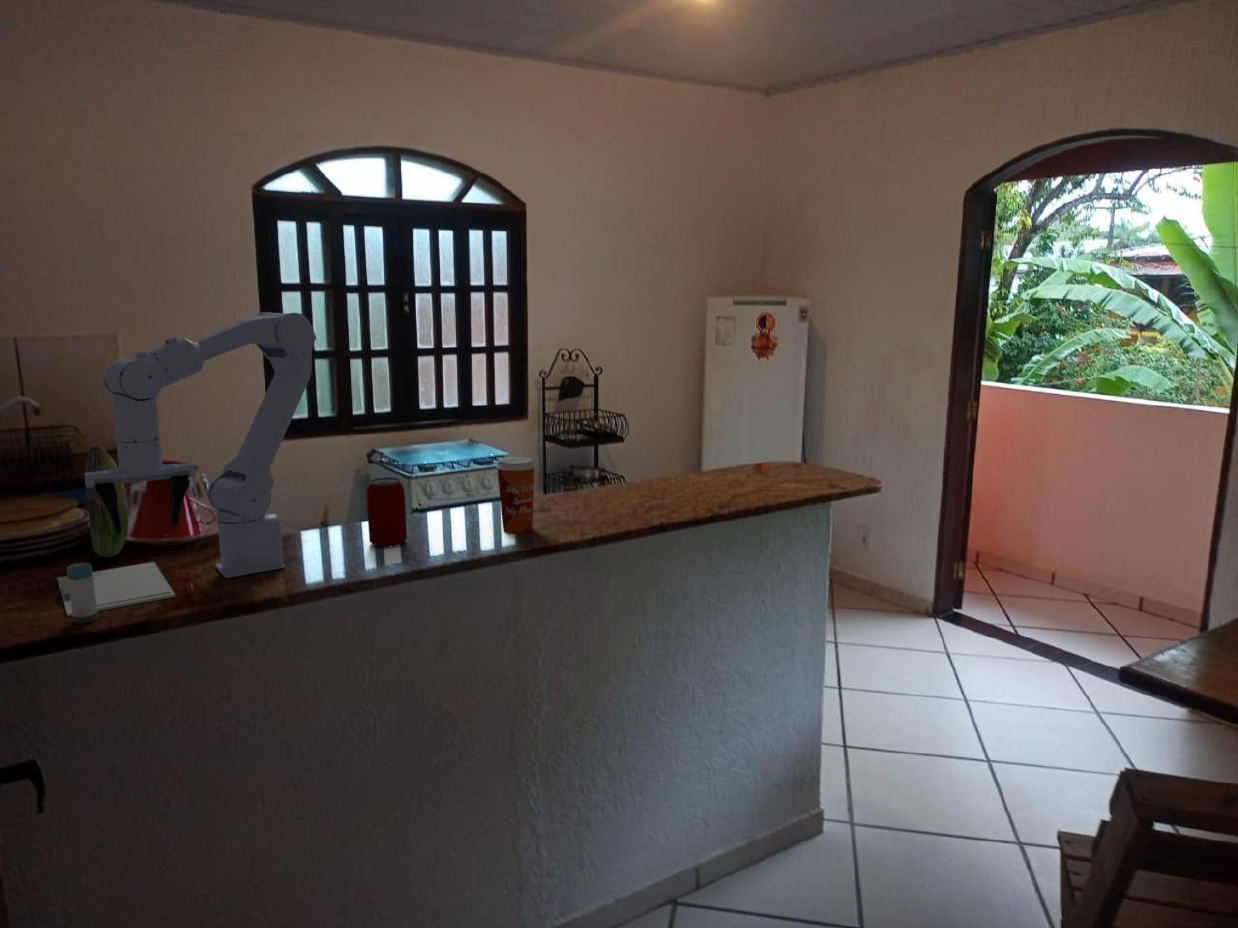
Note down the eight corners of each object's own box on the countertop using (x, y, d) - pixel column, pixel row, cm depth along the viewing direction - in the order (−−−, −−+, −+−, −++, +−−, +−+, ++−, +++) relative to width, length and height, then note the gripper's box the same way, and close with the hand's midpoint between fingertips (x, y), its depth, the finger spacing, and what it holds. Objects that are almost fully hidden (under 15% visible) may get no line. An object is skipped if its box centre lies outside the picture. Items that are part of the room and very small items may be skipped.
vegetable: (128, 549, 155) (115, 440, 151) (138, 556, 151) (125, 445, 147) (90, 556, 151) (76, 445, 147) (99, 564, 147) (85, 449, 143)
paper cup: (509, 537, 163) (507, 465, 160) (490, 528, 169) (488, 459, 166) (545, 530, 167) (543, 460, 164) (525, 522, 173) (523, 454, 171)
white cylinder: (98, 614, 124) (91, 561, 122) (98, 621, 121) (91, 567, 120) (74, 618, 122) (66, 564, 121) (73, 625, 120) (65, 570, 118)
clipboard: (154, 564, 147) (153, 556, 147) (175, 596, 131) (174, 587, 131) (57, 580, 139) (56, 571, 138) (67, 616, 123) (66, 607, 123)
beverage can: (410, 538, 162) (407, 476, 160) (403, 548, 156) (399, 484, 153) (374, 538, 162) (371, 476, 160) (365, 549, 155) (361, 484, 153)
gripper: (186, 432, 136) (193, 516, 138) (79, 440, 127) (88, 529, 130) (195, 438, 130) (202, 525, 133) (83, 447, 122) (93, 539, 124)
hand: (146, 527), depth 131 cm, fingers open, 7 cm apart
